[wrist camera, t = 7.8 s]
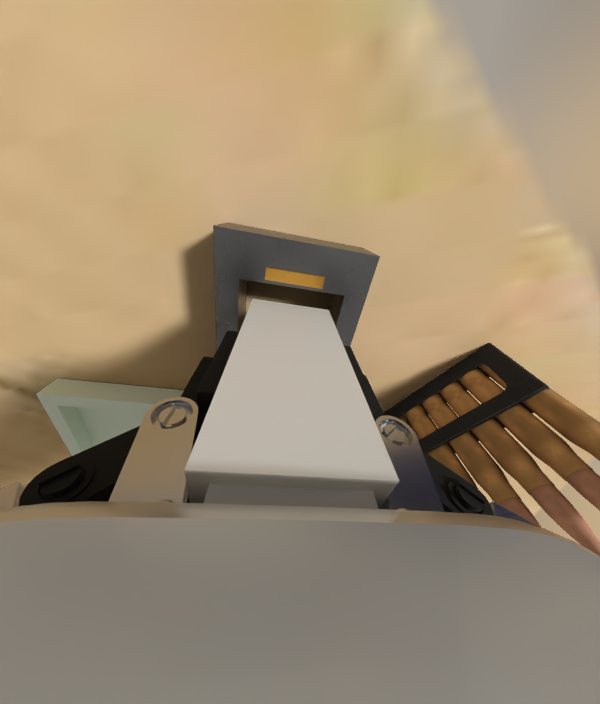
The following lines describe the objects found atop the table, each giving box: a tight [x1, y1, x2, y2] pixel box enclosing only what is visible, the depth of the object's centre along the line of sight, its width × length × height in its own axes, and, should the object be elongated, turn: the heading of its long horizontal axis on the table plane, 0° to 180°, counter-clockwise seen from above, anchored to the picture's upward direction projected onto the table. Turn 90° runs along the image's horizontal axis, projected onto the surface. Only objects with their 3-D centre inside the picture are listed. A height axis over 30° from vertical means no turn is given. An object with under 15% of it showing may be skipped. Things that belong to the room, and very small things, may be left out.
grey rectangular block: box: [184, 299, 399, 509], centre depth 9 cm, size 4×4×10 cm
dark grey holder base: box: [213, 223, 380, 352], centre depth 15 cm, size 20×15×9 cm
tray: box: [36, 378, 184, 456], centre depth 21 cm, size 12×12×2 cm
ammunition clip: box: [384, 343, 600, 556], centre depth 15 cm, size 11×2×12 cm, turn 137°
